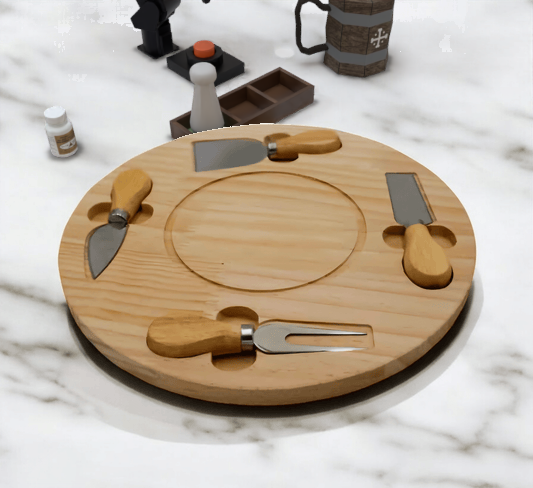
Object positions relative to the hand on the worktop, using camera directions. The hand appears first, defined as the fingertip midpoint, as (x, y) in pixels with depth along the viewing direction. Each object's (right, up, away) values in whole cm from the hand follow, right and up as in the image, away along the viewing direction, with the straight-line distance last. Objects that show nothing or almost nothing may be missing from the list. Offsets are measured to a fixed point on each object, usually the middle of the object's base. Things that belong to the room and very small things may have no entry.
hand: (206, 2), depth 123 cm
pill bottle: (-23, -30, -12) cm, 40 cm away
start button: (-1, -9, +3) cm, 9 cm away
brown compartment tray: (+8, -23, -6) cm, 25 cm away
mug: (+26, -9, +8) cm, 29 cm away
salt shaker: (+1, -27, -10) cm, 29 cm away
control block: (-1, -11, +6) cm, 13 cm away
